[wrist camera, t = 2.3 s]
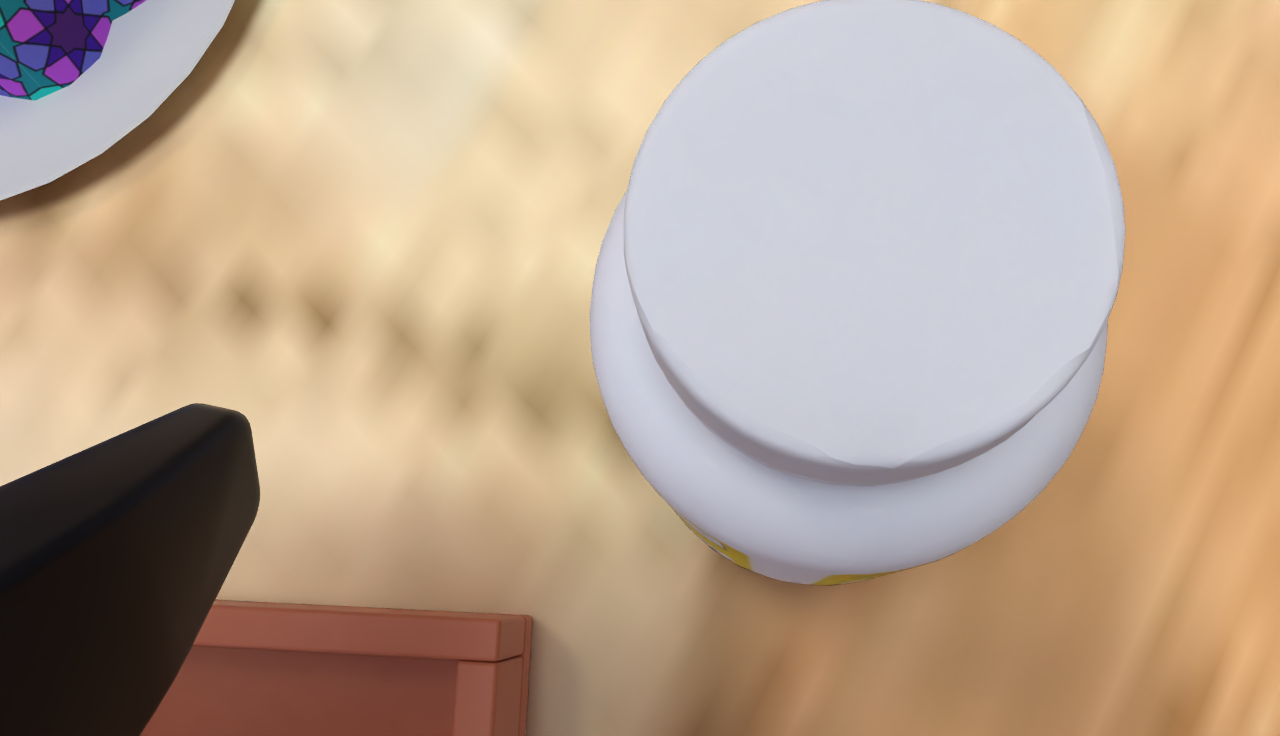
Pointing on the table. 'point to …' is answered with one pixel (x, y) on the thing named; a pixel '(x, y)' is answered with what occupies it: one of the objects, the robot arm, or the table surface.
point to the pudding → (89, 76)
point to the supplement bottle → (858, 288)
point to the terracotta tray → (349, 673)
